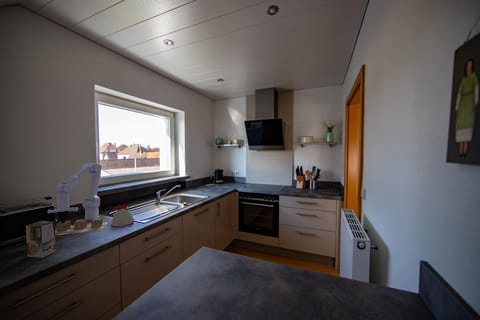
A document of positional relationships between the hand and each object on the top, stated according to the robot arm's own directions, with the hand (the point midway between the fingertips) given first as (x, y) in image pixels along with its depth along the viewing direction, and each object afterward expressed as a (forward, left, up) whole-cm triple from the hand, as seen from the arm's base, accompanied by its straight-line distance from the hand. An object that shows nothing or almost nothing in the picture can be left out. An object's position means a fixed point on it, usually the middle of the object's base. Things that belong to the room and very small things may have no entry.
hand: (63, 222), depth 118 cm
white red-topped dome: (-1, +33, -6) cm, 34 cm away
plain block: (0, 0, -5) cm, 5 cm away
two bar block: (0, +18, -5) cm, 19 cm away
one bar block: (0, +9, -5) cm, 10 cm away
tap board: (0, +9, -6) cm, 11 cm away
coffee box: (+29, +3, -6) cm, 30 cm away
